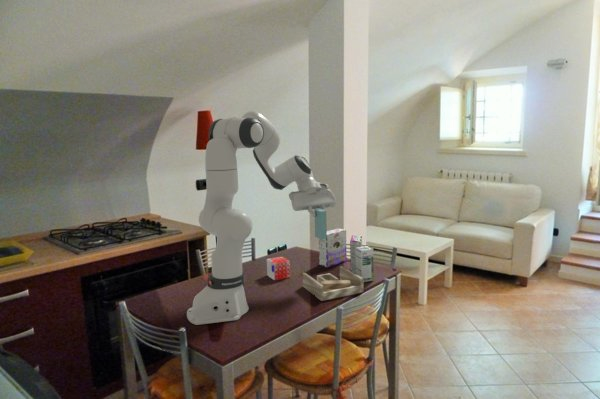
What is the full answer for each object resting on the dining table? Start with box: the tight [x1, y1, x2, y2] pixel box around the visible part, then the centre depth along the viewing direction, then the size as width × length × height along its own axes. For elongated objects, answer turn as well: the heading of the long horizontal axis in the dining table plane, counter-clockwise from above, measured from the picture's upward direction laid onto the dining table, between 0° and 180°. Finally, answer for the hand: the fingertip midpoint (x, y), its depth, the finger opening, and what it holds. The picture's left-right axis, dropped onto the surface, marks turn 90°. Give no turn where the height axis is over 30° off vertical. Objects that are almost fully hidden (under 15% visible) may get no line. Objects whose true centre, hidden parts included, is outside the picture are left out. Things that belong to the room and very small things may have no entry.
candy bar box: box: [349, 234, 363, 274], centre depth 194 cm, size 11×5×16 cm, turn 168°
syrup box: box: [356, 245, 374, 283], centre depth 185 cm, size 6×6×14 cm
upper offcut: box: [321, 279, 351, 289], centre depth 172 cm, size 12×4×2 cm, turn 90°
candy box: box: [318, 227, 348, 268], centre depth 208 cm, size 14×6×16 cm, turn 130°
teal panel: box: [314, 208, 328, 240], centre depth 180 cm, size 2×6×12 cm, turn 24°
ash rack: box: [302, 266, 364, 302], centre depth 175 cm, size 19×17×6 cm
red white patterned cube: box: [266, 256, 291, 281], centre depth 192 cm, size 8×8×8 cm
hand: (319, 215), depth 180 cm, fingers closed on teal panel, 2 cm apart
